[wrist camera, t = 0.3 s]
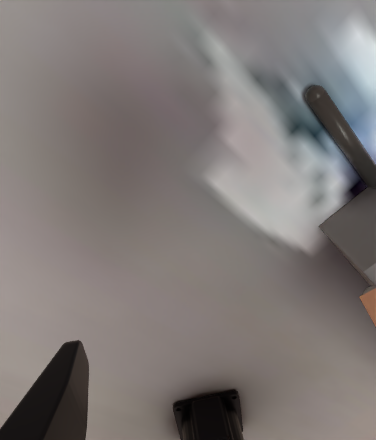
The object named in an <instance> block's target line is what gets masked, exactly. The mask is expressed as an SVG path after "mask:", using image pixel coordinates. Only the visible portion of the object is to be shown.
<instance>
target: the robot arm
mask: <svg viewBox="0 0 376 440" xmlns="http://www.w3.org/2000/svg"><path fill="white" fill-rule="evenodd" d="M88 382H89V363H88V359H87V356H86V353H85V350H84V347H83V344H82V342H81V341H79V340H77V341H70V342H66V343H64V344H63V345H62V347H61V348H60V349H59V351H58V352H57V353H56V355H55V356H54V357H53V359H52V360H51V361H50V363H49V364H48V365H47V367H46V368H45V369H44V371H43V372H42V373H41V375H40V376H39V377H38V379H37V380H36V381H35V383H34V384H33V386H32V387H31V388H30V390H29V391H28V392H27V394H26V395H25V396H24V398H23V399H22V400H21V402H20V403H19V404H18V406H17V407H16V408H15V410H14V411H13V412H12V414H11V415H10V416H9V418H8V419H7V421H6V422H5V423H4V425H3V426H2V427H1V429H0V440H85V438H86V430H87V412H88ZM173 411H174V415H175V419H176V422H177V426H178V430H179V434H180V438H181V440H244V438H243V434H242V432H243V426H242V417H241V408H240V400H239V394H238V392H237V391H229V392H225V393H220V394H215V395H211V396H206V397H201V398H197V399H192V400H187V401H183V402H178V403H175V404H174V405H173Z"/></svg>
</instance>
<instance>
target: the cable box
mask: <svg viewBox="0 0 376 440" xmlns="http://www.w3.org/2000/svg"><path fill="white" fill-rule="evenodd" d="M305 97H306V101H307V102H308V104H309V105H310V107H311V108H312V109H313V111H314V112H315V114H316V115H317V116H318V118H319V119H320V121H321V122H322V123H323V125H324V126H325V128H326V129H327V130H328V132H329V133H330V135H331V136H332V137H333V139H334V140H335V141H336V143H337V144H338V146H339V147H340V148H341V150H342V151H343V153H344V154H345V155H346V157H347V158H348V160H349V161H350V162H351V164H352V165H353V167H354V168H355V169H356V171H357V172H358V173H359V175H360V176H361V178H362V179H363V180H364V182H365V183H366V185H367V186H368V187H367V188H366V189H365V190H364V191H362V192H361V193H360V194H359V195H357V196H356V197H355V198H354V199H352V200H351V201H350V202H349V203H347V204H346V205H345V206H344V207H342V208H341V209H340V210H339V211H337V212H336V213H335V214H334V215H332V216H331V217H330V218H329V219H327V220H326V221H325V222H324V223H322V224H321V225H320V226H319V227H320V229H321V230H322V231H323V232H324V233H325V234H326V235H327V237H328V238H329V239H330V240H331V241H332V242H333V243H334V245H335V246H336V247H337V248H338V249H339V250H340V252H341V253H342V254H343V255H344V256H345V257H346V258H347V260H348V261H349V262H350V263H351V264H352V265H353V266H354V268H355V269H356V270H357V271H358V272H359V273H360V274H361V276H362V277H363V278H364V279H365V280H366V281H367V283H368V284H369V285H370V286H376V164H375V163H374V161H373V160H372V158H371V157H370V155H369V154H368V153H367V151H366V150H365V148H364V147H363V145H362V144H361V142H360V141H359V139H358V138H357V136H356V135H355V133H354V132H353V130H352V129H351V127H350V126H349V124H348V123H347V122H346V120H345V119H344V117H343V116H342V114H341V113H340V111H339V110H338V108H337V107H336V105H335V104H334V102H333V101H332V99H331V98H330V96H329V95H328V93H327V92H326V91H325V89H324V88H323V87H322V86H320V85H314V86H312V87H310V88H309V89H308V90H307V92H306V96H305Z"/></svg>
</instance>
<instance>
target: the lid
mask: <svg viewBox="0 0 376 440" xmlns="http://www.w3.org/2000/svg"><path fill="white" fill-rule="evenodd" d="M360 299H361V301H362V303H363V305H364V306H365V308H366V310H367V312H368V314H369V315H370V317H371V319H372V321H373V323H374V324H375V326H376V286H371V287H368V288H367V289H366V290H365V291H364V292H363V295H362V296H360Z"/></svg>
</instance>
